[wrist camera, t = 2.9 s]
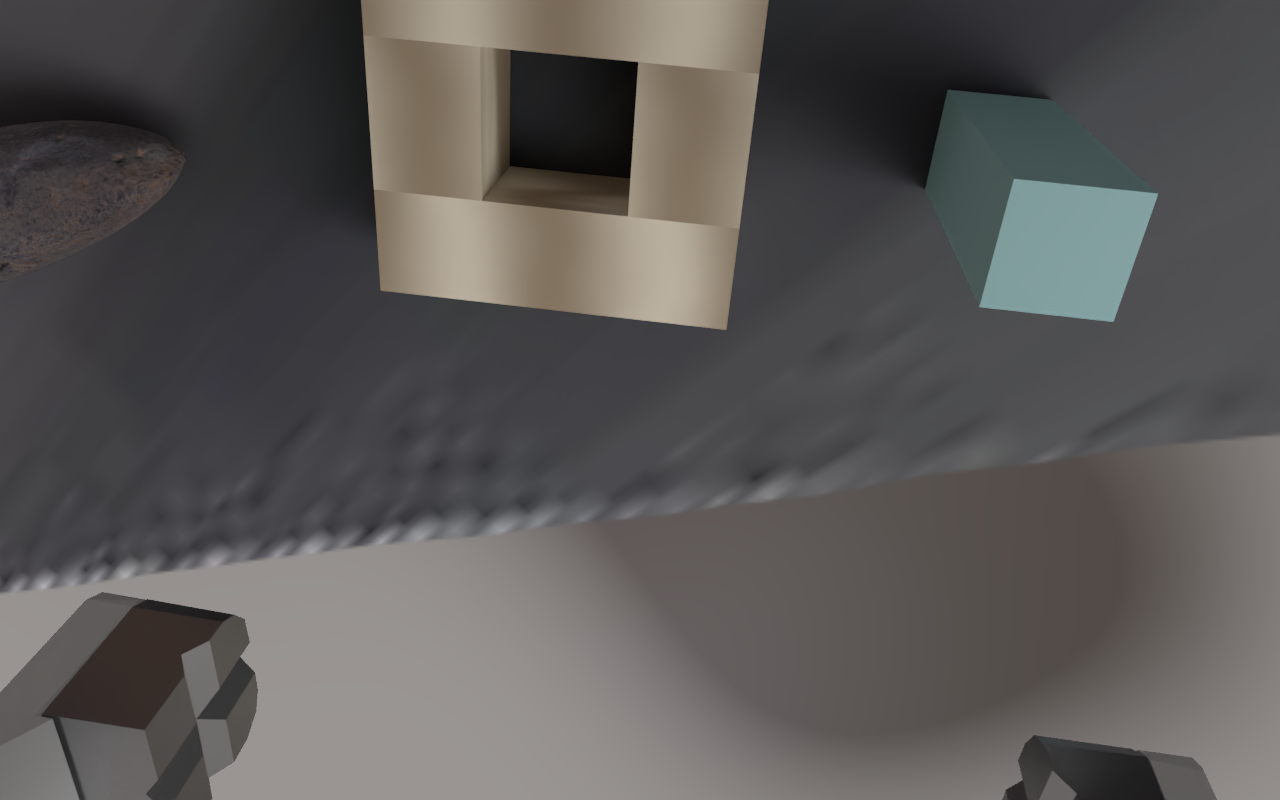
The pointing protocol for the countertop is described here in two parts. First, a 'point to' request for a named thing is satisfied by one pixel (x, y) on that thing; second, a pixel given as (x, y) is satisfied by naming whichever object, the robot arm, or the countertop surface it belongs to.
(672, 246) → the bore block
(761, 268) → the countertop surface
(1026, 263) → the square bit
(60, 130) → the perforated stone tool
